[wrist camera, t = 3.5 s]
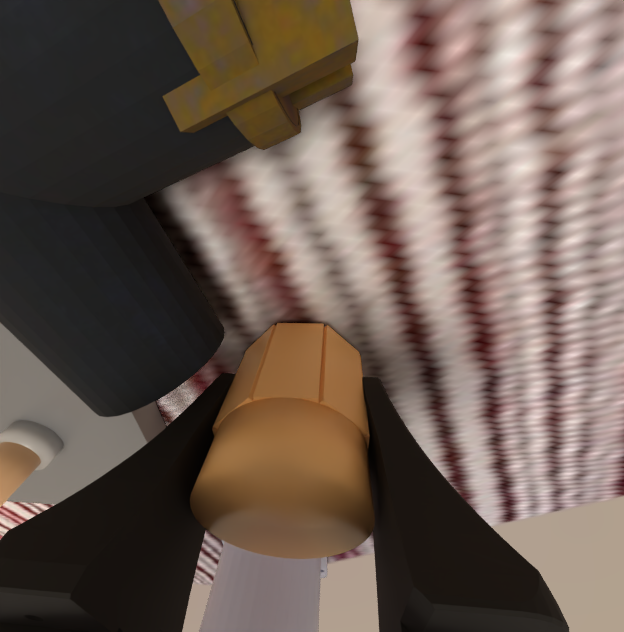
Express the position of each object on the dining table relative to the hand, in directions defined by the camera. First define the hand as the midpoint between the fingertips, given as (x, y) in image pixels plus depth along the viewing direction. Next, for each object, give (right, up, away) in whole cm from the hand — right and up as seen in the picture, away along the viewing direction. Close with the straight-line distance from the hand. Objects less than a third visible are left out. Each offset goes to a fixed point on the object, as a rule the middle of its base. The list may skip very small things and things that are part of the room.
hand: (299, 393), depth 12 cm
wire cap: (0, +1, +1) cm, 1 cm away
